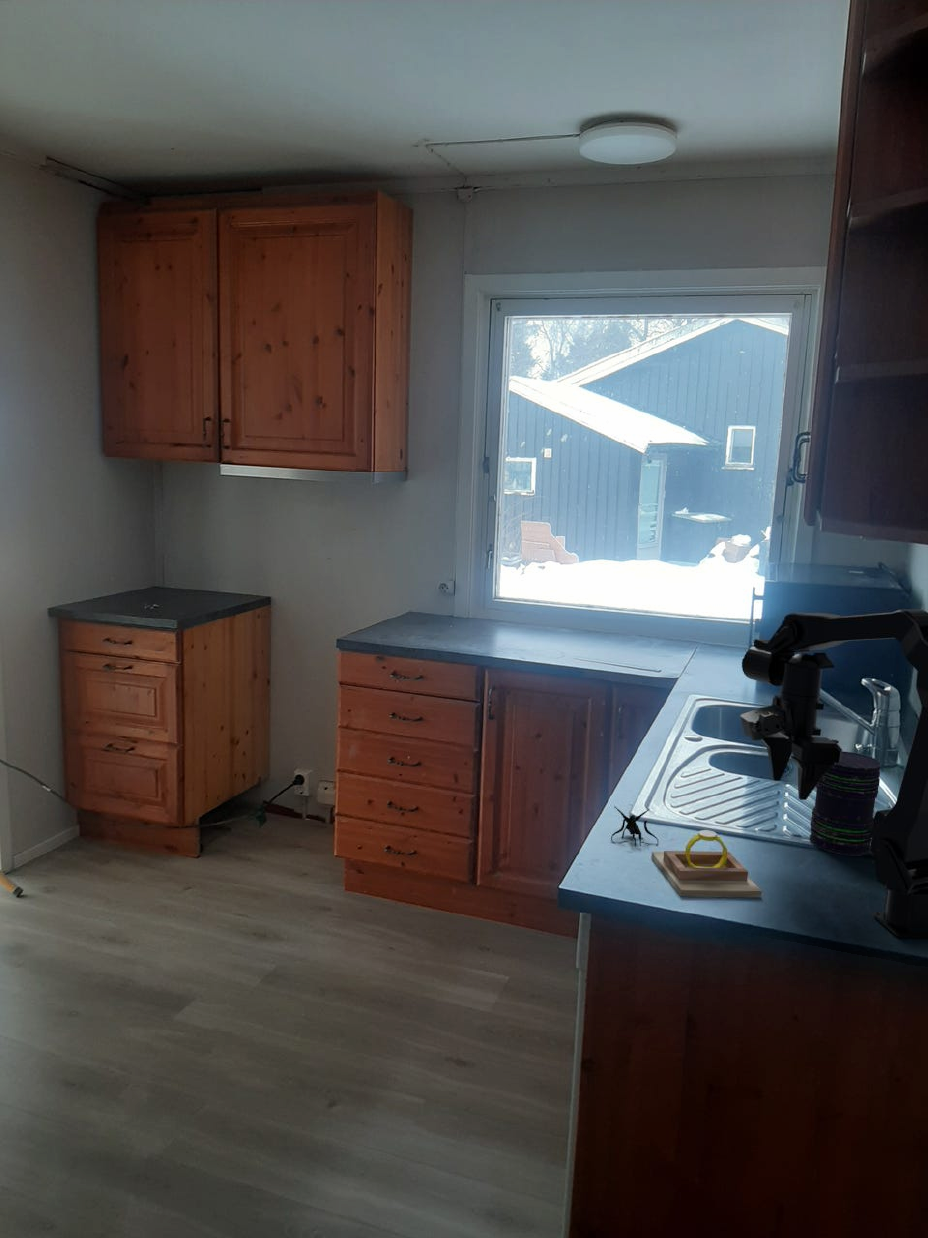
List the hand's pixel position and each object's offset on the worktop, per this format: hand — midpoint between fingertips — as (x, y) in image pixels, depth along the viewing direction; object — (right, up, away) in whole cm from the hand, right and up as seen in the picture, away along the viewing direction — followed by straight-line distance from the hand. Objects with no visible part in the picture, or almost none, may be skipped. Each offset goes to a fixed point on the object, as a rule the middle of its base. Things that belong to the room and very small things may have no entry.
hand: (789, 789), depth 147 cm
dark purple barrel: (+12, -12, +11) cm, 20 cm away
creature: (-23, -10, +7) cm, 26 cm away
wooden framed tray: (-15, -12, -6) cm, 20 cm away
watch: (-15, -11, -6) cm, 20 cm away
